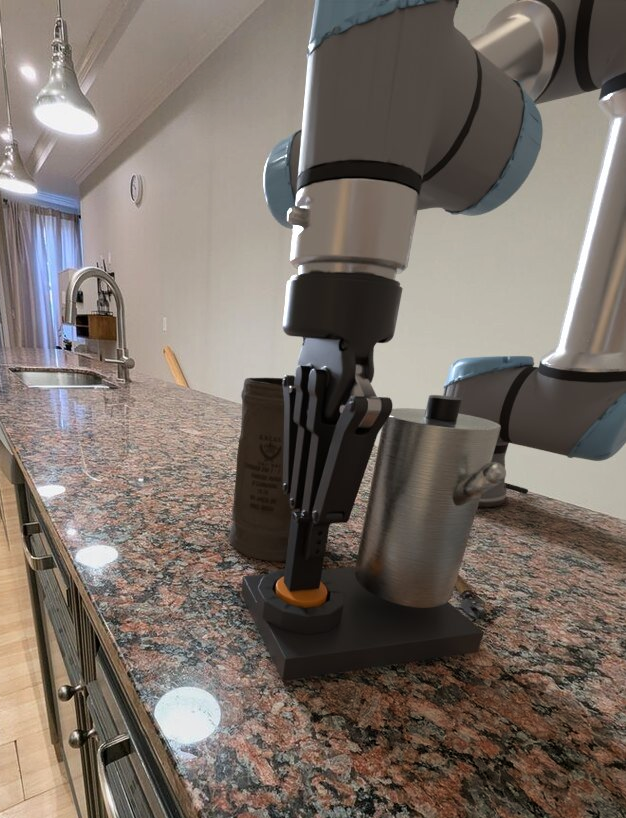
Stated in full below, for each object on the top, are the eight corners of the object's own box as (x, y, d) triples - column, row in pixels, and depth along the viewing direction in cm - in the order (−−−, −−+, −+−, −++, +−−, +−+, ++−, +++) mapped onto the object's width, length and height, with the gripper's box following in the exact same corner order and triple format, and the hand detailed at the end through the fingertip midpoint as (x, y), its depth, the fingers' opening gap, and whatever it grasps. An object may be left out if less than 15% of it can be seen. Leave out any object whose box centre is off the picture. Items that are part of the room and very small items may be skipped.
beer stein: (311, 572, 49) (339, 385, 43) (218, 557, 51) (231, 375, 45) (317, 527, 64) (338, 382, 57) (243, 516, 65) (256, 374, 59)
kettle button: (312, 588, 42) (314, 572, 41) (333, 616, 38) (336, 599, 37) (267, 592, 40) (269, 576, 40) (284, 622, 36) (286, 604, 36)
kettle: (398, 543, 49) (433, 387, 42) (500, 623, 36) (572, 416, 30) (326, 548, 46) (352, 383, 40) (407, 635, 34) (464, 413, 27)
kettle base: (398, 580, 49) (405, 548, 48) (477, 652, 39) (490, 614, 37) (239, 595, 44) (242, 559, 43) (280, 682, 34) (286, 639, 32)
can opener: (442, 574, 51) (445, 565, 51) (464, 577, 51) (466, 568, 50) (466, 621, 43) (469, 610, 42) (492, 624, 42) (495, 614, 42)
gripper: (260, 278, 34) (239, 552, 43) (338, 256, 22) (286, 638, 31) (349, 287, 36) (311, 548, 45) (461, 272, 25) (380, 627, 33)
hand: (301, 585), depth 38 cm, fingers closed
